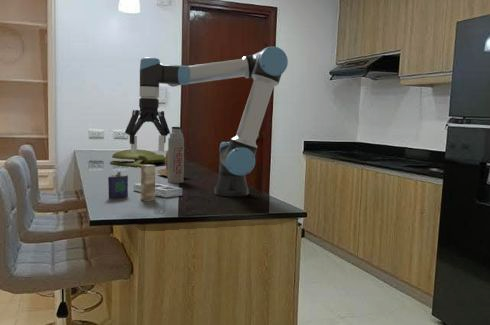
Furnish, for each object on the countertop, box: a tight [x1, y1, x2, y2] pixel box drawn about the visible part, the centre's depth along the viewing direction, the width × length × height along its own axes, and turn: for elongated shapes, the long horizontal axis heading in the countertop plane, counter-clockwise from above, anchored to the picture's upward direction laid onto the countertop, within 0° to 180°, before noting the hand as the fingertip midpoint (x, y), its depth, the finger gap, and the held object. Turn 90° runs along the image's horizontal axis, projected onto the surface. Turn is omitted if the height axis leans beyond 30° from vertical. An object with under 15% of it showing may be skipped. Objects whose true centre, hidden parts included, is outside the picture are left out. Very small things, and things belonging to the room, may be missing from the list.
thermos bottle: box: [167, 126, 185, 184], centre depth 235 cm, size 8×8×28 cm
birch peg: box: [140, 164, 156, 202], centre depth 186 cm, size 4×4×14 cm
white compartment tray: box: [133, 182, 183, 198], centre depth 203 cm, size 22×9×3 cm, turn 50°
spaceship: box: [109, 148, 166, 169], centre depth 309 cm, size 35×31×10 cm
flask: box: [107, 171, 129, 200], centre depth 188 cm, size 9×3×11 cm, turn 144°
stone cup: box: [156, 149, 168, 178], centre depth 255 cm, size 15×12×15 cm
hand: (147, 152), depth 184 cm, fingers open, 13 cm apart
